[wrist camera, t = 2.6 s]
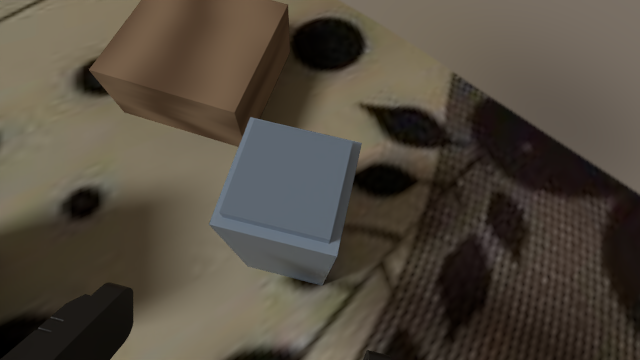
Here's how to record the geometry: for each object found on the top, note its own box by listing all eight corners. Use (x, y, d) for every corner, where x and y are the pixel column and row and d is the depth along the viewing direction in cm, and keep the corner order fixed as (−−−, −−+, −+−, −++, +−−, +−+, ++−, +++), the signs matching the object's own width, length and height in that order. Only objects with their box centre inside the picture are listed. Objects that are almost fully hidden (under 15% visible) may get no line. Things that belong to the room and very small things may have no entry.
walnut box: (290, 54, 30) (287, 4, 25) (246, 150, 26) (234, 112, 21) (184, 25, 30) (163, -29, 26) (125, 114, 26) (89, 69, 22)
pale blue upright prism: (338, 213, 24) (364, 136, 14) (322, 285, 22) (338, 253, 12) (270, 196, 24) (248, 109, 14) (247, 266, 22) (204, 220, 12)
